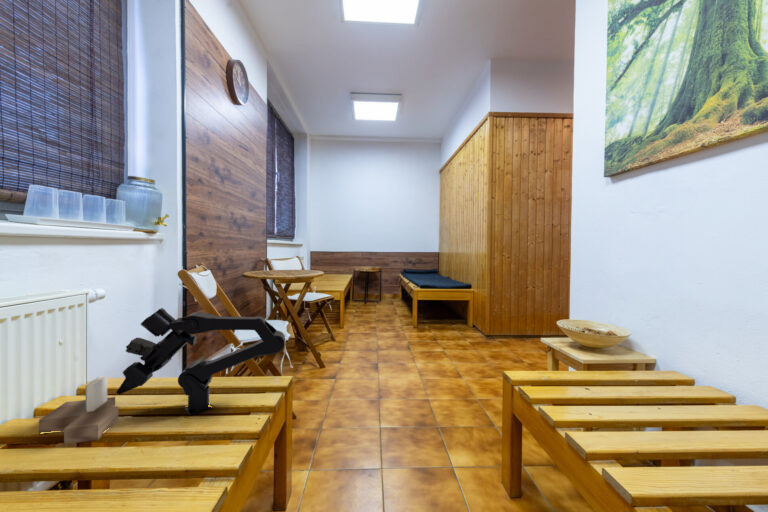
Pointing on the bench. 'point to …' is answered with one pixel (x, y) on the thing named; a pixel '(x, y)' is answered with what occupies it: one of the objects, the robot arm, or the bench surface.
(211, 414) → the bench surface
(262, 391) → the bench surface
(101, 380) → the tile
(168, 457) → the bench surface
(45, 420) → the platform
